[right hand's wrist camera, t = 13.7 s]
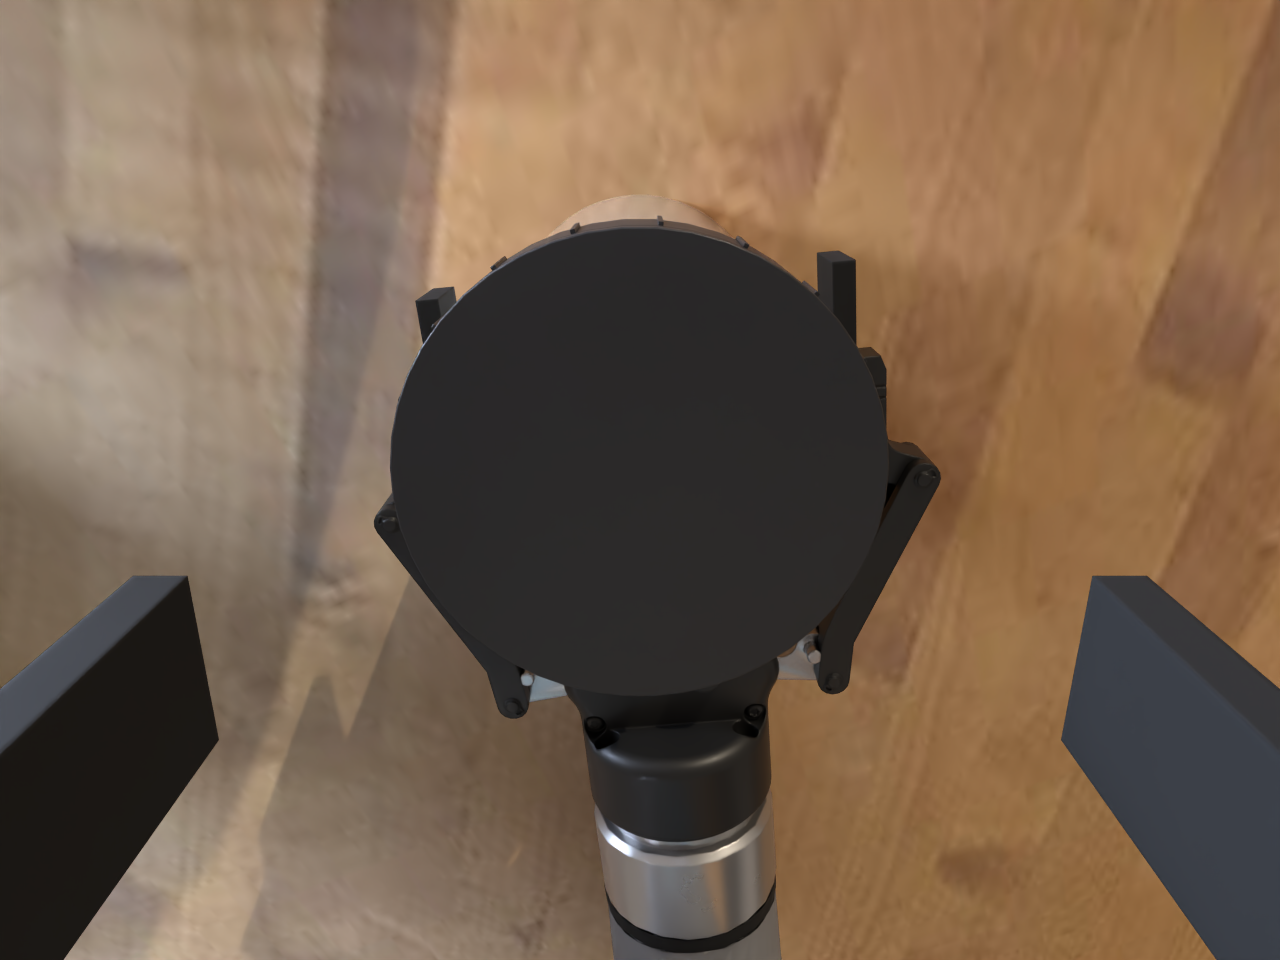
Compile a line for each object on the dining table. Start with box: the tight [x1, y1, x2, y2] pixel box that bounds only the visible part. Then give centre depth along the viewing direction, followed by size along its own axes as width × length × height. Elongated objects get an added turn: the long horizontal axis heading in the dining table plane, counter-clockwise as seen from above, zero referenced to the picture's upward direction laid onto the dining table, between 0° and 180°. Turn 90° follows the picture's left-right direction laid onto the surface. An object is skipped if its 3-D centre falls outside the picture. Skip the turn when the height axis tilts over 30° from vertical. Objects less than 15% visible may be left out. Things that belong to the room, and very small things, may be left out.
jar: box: [546, 195, 733, 238], centre depth 29 cm, size 10×10×19 cm
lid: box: [390, 216, 889, 696], centre depth 21 cm, size 11×11×2 cm
